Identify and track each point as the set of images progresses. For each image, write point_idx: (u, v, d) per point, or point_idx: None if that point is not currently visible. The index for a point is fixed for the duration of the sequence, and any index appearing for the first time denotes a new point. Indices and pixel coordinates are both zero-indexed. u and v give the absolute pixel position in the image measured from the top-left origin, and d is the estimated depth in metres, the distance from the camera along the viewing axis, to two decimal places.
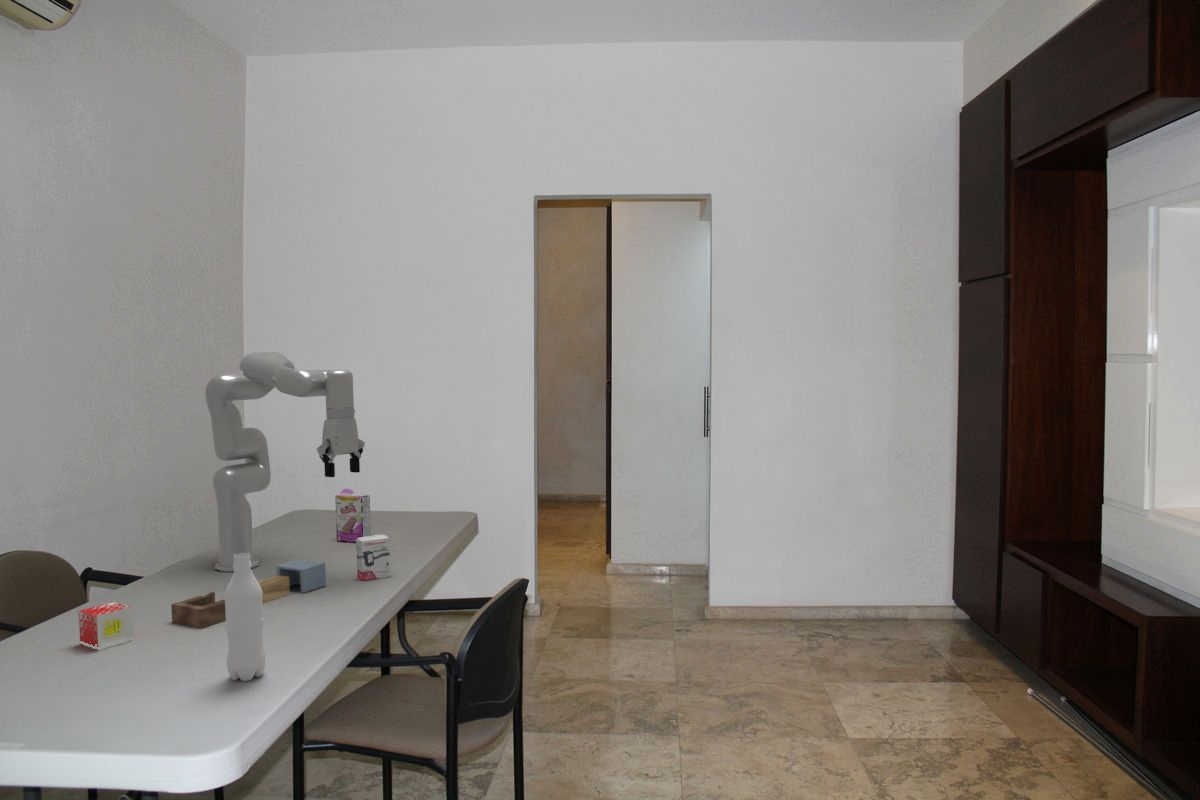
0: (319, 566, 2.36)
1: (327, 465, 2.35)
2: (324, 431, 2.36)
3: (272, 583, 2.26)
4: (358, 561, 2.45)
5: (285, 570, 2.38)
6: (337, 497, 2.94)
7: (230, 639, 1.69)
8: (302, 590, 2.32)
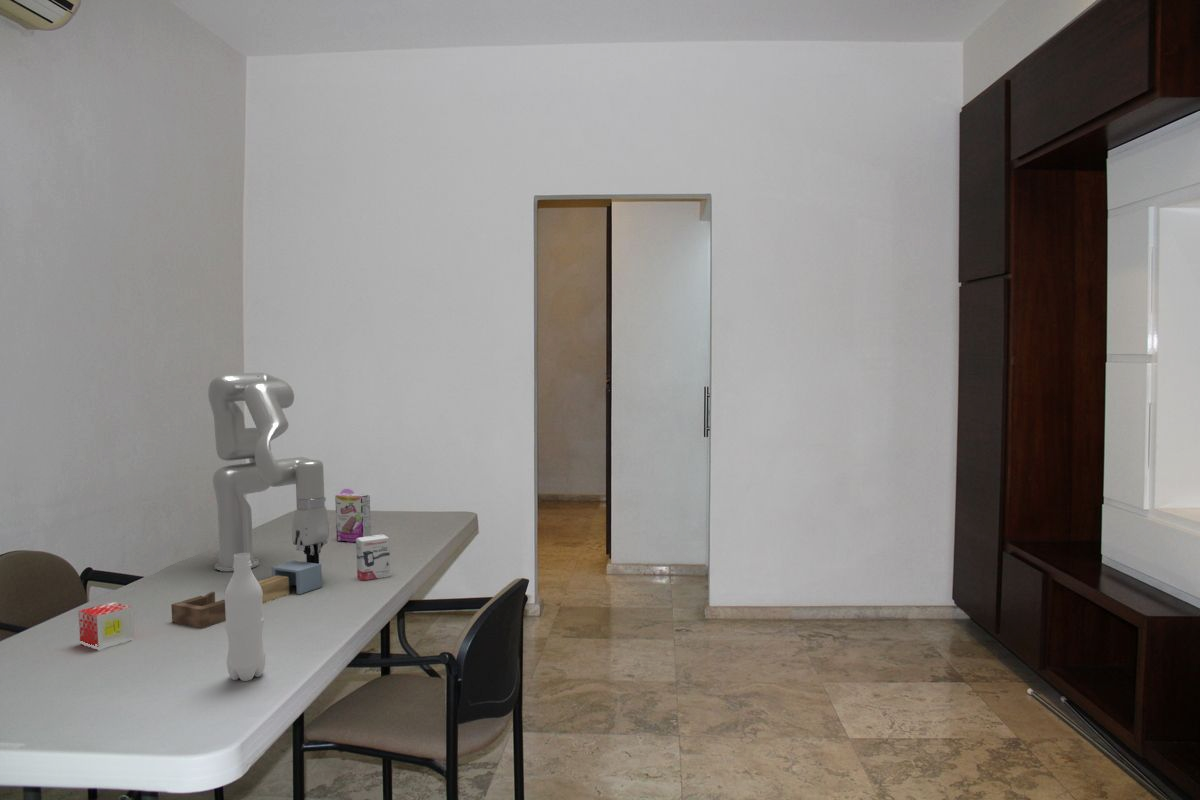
0: (315, 567, 2.35)
1: (309, 557, 2.40)
2: (294, 522, 2.37)
3: (272, 583, 2.26)
4: (358, 561, 2.45)
5: (281, 571, 2.36)
6: (337, 497, 2.94)
7: (230, 639, 1.69)
8: (298, 591, 2.31)
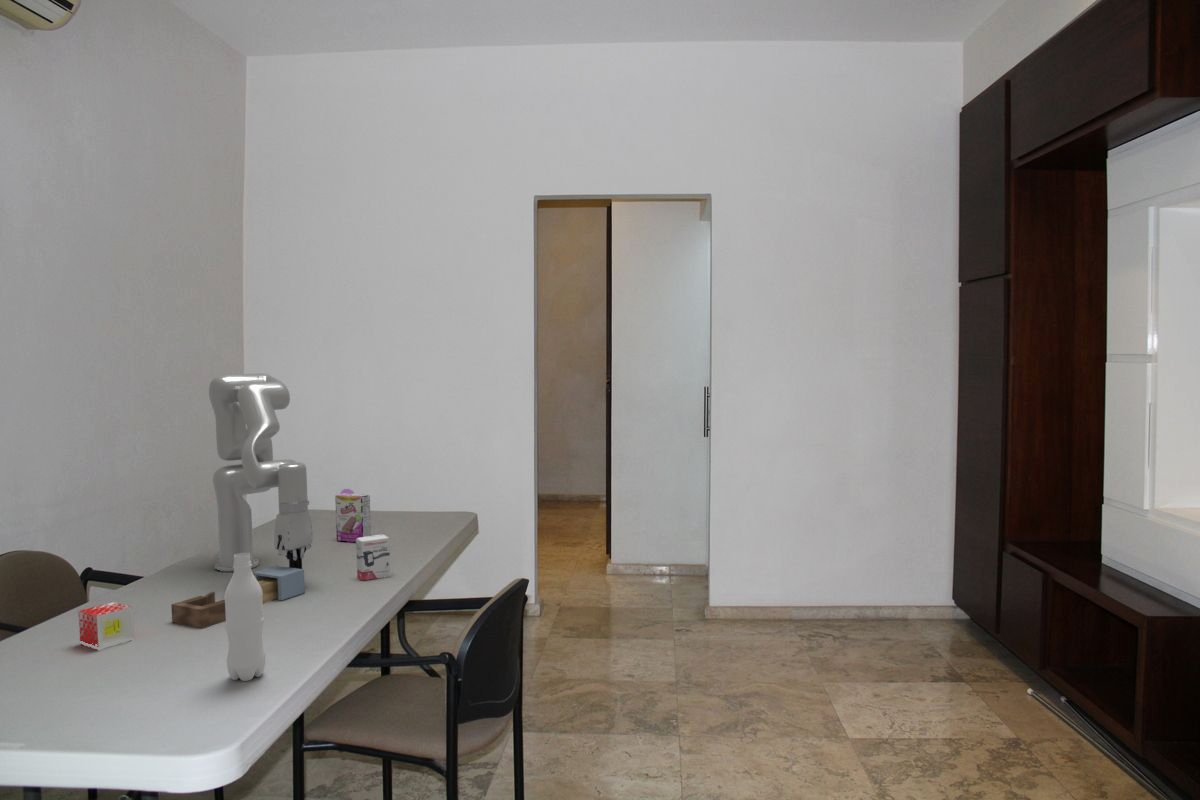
0: (297, 573, 2.30)
1: (292, 562, 2.34)
2: (276, 526, 2.31)
3: (272, 583, 2.26)
4: (358, 561, 2.45)
5: (263, 577, 2.31)
6: (337, 497, 2.94)
7: (230, 639, 1.69)
8: (279, 597, 2.25)
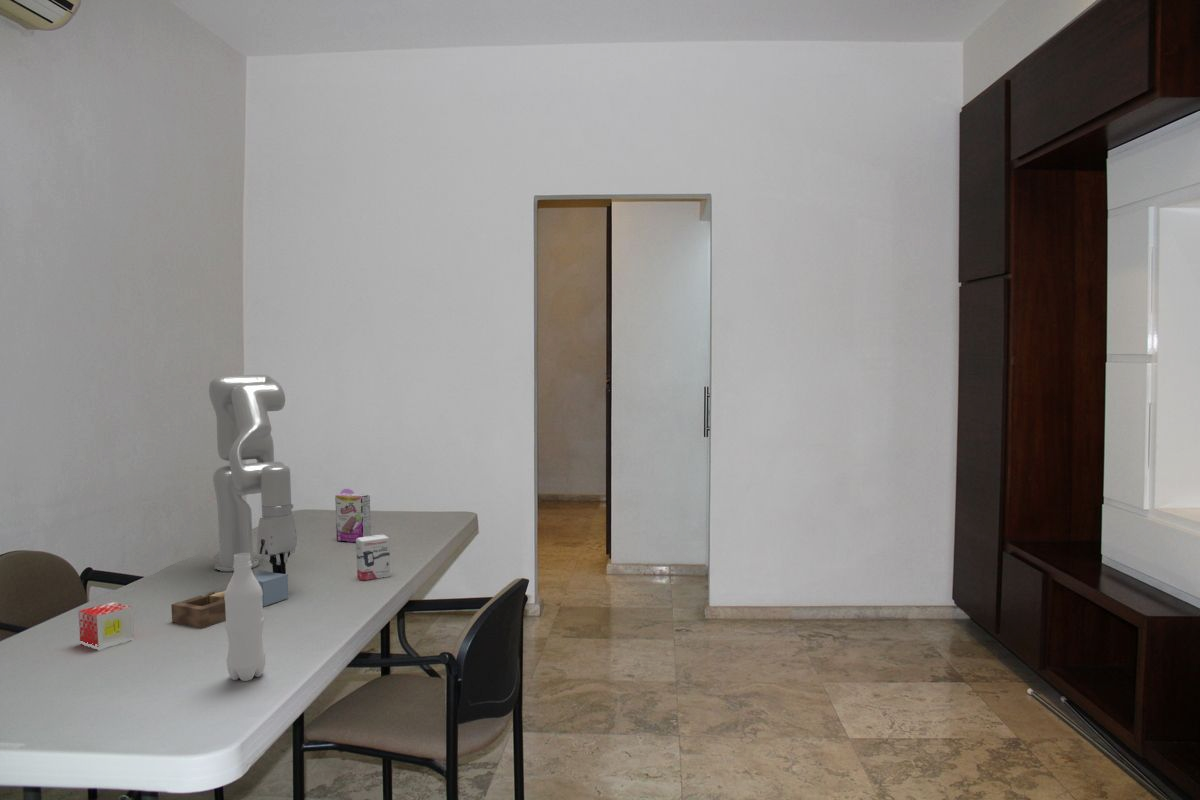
0: (281, 578, 2.25)
1: (275, 567, 2.29)
2: (259, 530, 2.26)
3: None
4: (358, 561, 2.45)
5: None
6: (337, 497, 2.94)
7: (230, 639, 1.69)
8: None
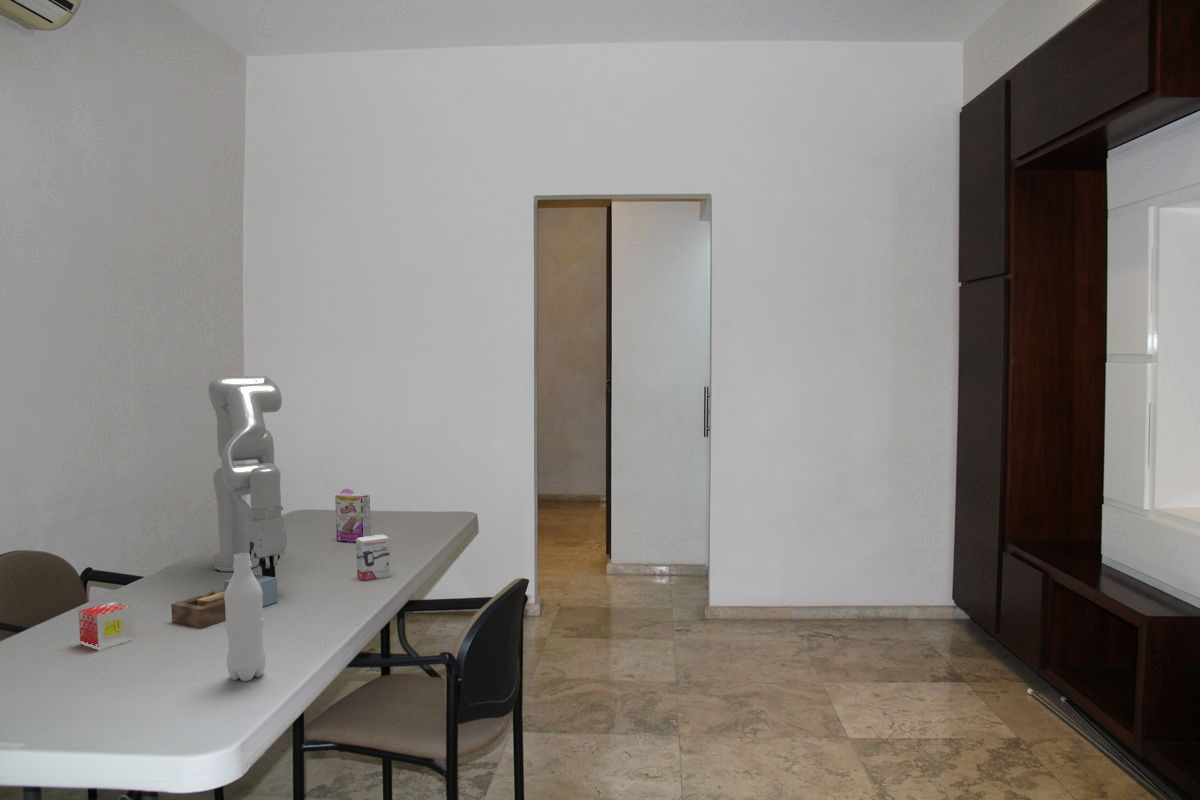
0: (270, 581, 2.21)
1: (264, 570, 2.26)
2: (248, 533, 2.23)
3: None
4: (358, 561, 2.45)
5: None
6: (337, 497, 2.94)
7: (230, 639, 1.69)
8: None
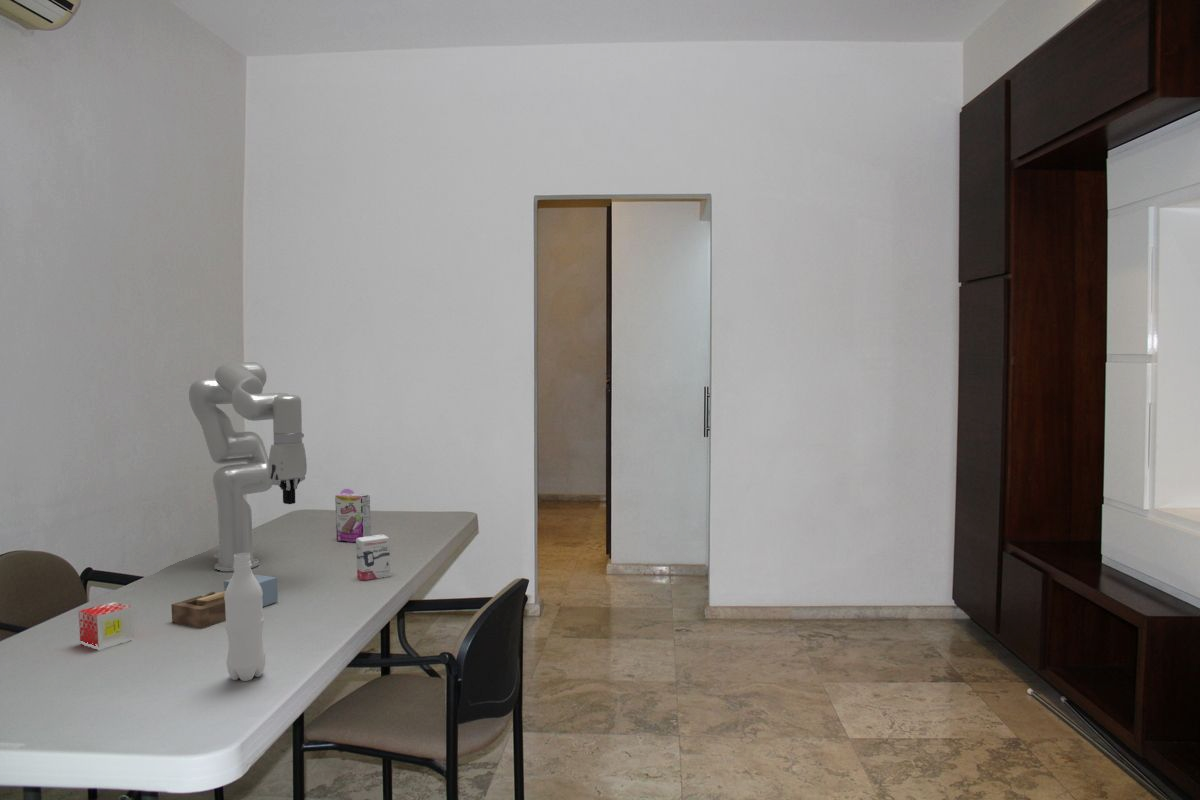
0: (270, 581, 2.21)
1: (285, 492, 2.39)
2: (270, 456, 2.36)
3: None
4: (358, 561, 2.45)
5: None
6: (337, 497, 2.94)
7: (230, 639, 1.69)
8: None
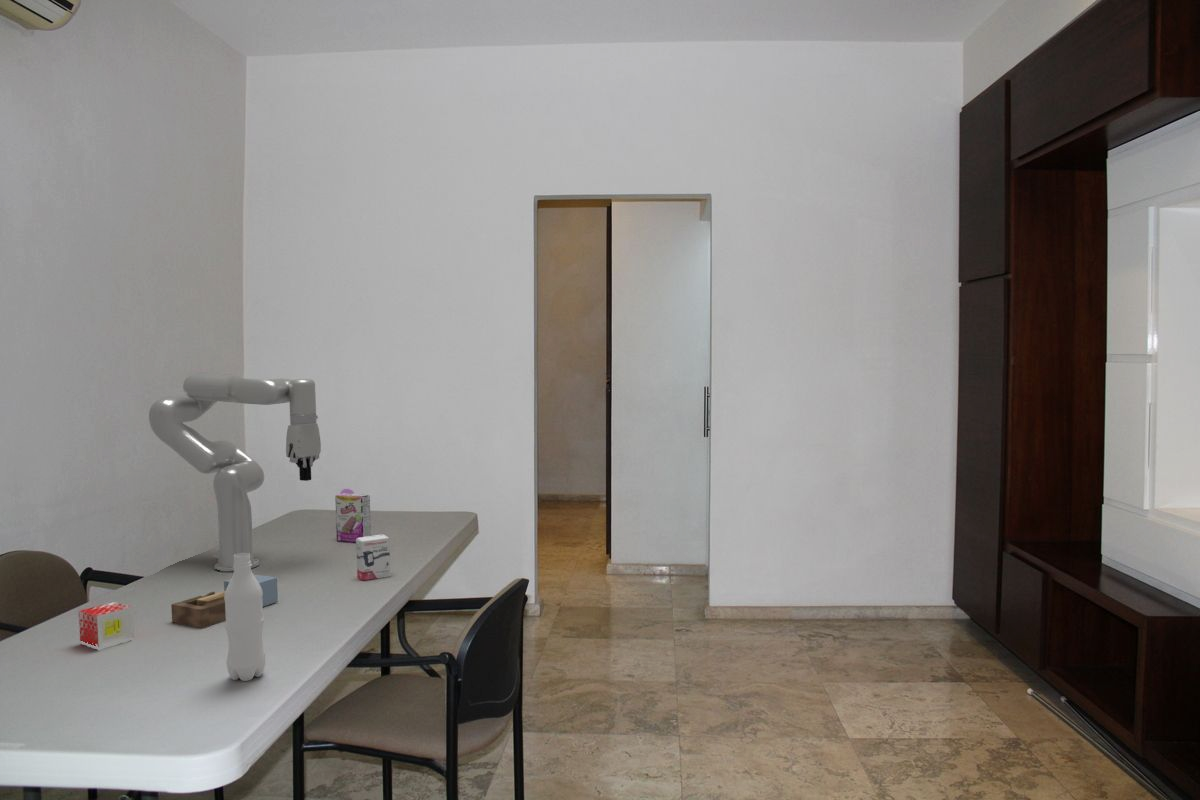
0: (270, 581, 2.21)
1: (302, 469, 2.56)
2: (288, 436, 2.54)
3: None
4: (358, 561, 2.45)
5: None
6: (337, 497, 2.94)
7: (230, 639, 1.69)
8: None
